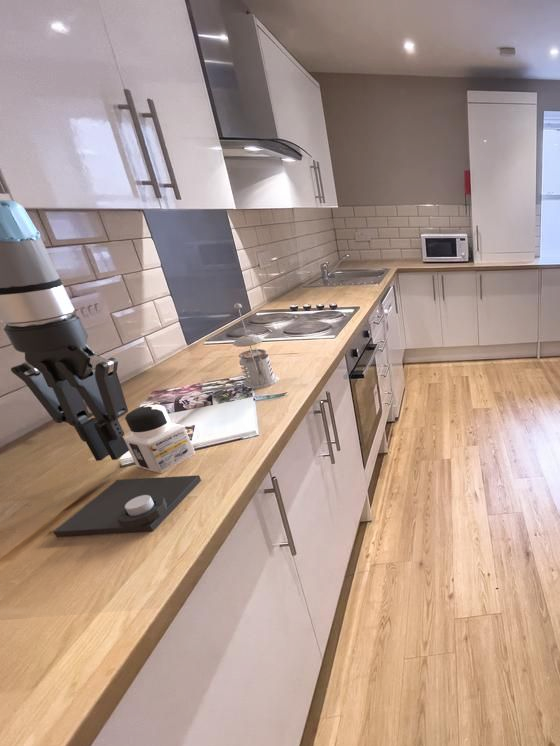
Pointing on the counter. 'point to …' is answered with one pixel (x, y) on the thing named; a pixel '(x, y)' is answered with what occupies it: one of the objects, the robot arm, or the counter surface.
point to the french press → (254, 361)
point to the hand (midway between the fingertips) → (113, 455)
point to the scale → (113, 517)
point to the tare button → (139, 505)
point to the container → (156, 439)
